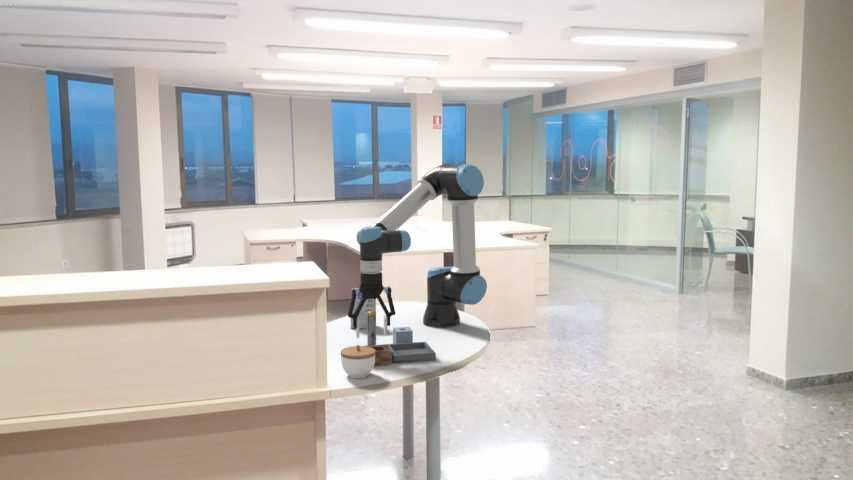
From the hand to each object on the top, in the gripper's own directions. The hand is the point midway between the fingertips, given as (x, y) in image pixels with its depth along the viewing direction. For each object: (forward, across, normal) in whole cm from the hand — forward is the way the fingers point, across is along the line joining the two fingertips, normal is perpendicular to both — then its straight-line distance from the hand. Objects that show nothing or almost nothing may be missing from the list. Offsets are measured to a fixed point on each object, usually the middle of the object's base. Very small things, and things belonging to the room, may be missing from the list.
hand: (371, 335), depth 225 cm
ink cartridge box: (+6, +2, +34) cm, 35 cm away
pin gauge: (+5, 0, 0) cm, 5 cm away
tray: (+5, +12, -8) cm, 15 cm away
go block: (+5, 0, -12) cm, 13 cm away
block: (+6, +12, +5) cm, 14 cm away
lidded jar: (+6, -8, -24) cm, 26 cm away
